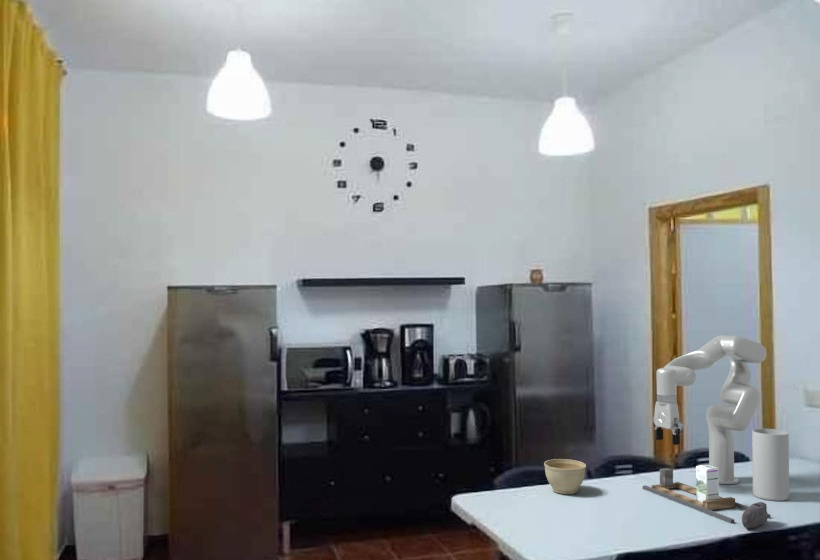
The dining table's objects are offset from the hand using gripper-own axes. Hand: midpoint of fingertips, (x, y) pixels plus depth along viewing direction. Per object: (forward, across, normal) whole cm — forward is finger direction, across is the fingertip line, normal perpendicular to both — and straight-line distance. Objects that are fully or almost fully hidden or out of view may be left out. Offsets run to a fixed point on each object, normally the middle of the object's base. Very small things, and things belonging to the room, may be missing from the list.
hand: (667, 441), depth 286 cm
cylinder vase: (+19, +23, +29) cm, 42 cm away
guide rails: (+19, +19, -1) cm, 27 cm away
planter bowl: (+18, -11, -41) cm, 46 cm away
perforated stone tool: (+19, +47, -4) cm, 51 cm away
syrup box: (+19, +24, -3) cm, 31 cm away
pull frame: (+19, +14, -1) cm, 23 cm away
